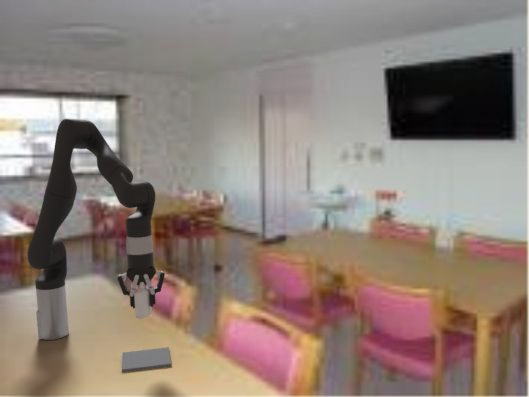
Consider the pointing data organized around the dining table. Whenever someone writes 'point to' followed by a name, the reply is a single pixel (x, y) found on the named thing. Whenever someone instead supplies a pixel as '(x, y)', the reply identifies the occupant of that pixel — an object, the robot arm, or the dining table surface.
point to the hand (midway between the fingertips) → (143, 306)
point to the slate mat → (146, 359)
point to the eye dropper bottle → (142, 302)
